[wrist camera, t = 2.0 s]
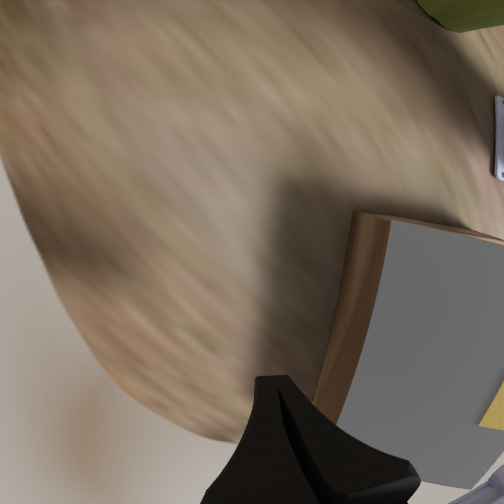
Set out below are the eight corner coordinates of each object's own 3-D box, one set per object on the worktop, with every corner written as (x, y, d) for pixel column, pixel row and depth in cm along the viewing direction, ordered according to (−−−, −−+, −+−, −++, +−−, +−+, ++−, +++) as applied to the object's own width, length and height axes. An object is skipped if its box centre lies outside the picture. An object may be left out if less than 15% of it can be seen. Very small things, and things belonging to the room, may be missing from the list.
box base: (472, 229, 20) (513, 243, 16) (422, 388, 24) (447, 418, 19) (353, 210, 19) (391, 222, 14) (312, 402, 23) (328, 444, 18)
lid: (583, 270, 8) (588, 273, 7) (471, 484, 12) (470, 490, 11) (392, 219, 14) (391, 219, 14) (327, 446, 18) (324, 452, 17)
